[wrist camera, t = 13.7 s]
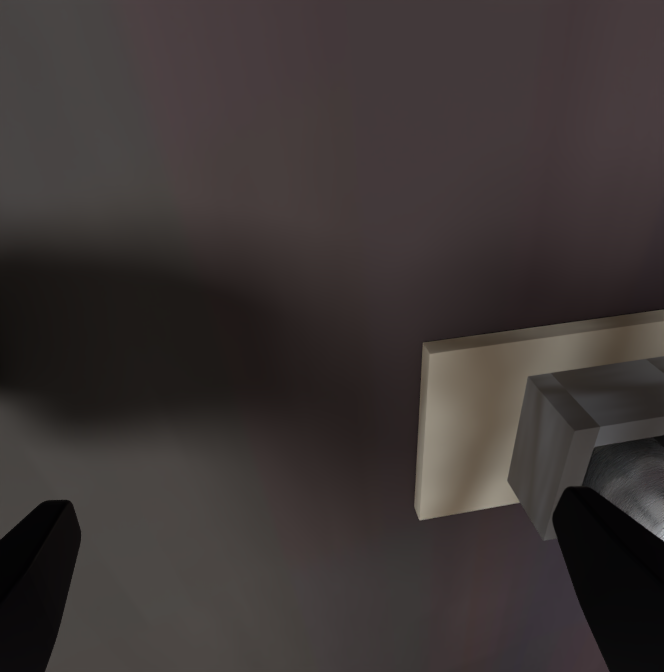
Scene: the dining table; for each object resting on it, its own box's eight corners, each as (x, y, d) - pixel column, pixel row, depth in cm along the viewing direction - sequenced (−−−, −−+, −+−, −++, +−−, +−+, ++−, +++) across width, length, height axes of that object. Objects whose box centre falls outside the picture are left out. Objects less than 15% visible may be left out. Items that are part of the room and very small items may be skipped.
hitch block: (414, 506, 30) (443, 584, 25) (423, 342, 23) (463, 409, 19) (681, 460, 31) (749, 525, 27) (756, 296, 25) (860, 348, 21)
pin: (553, 458, 28) (733, 698, 18) (541, 412, 26) (739, 654, 15) (619, 430, 27) (842, 658, 17) (613, 381, 25) (863, 608, 15)
